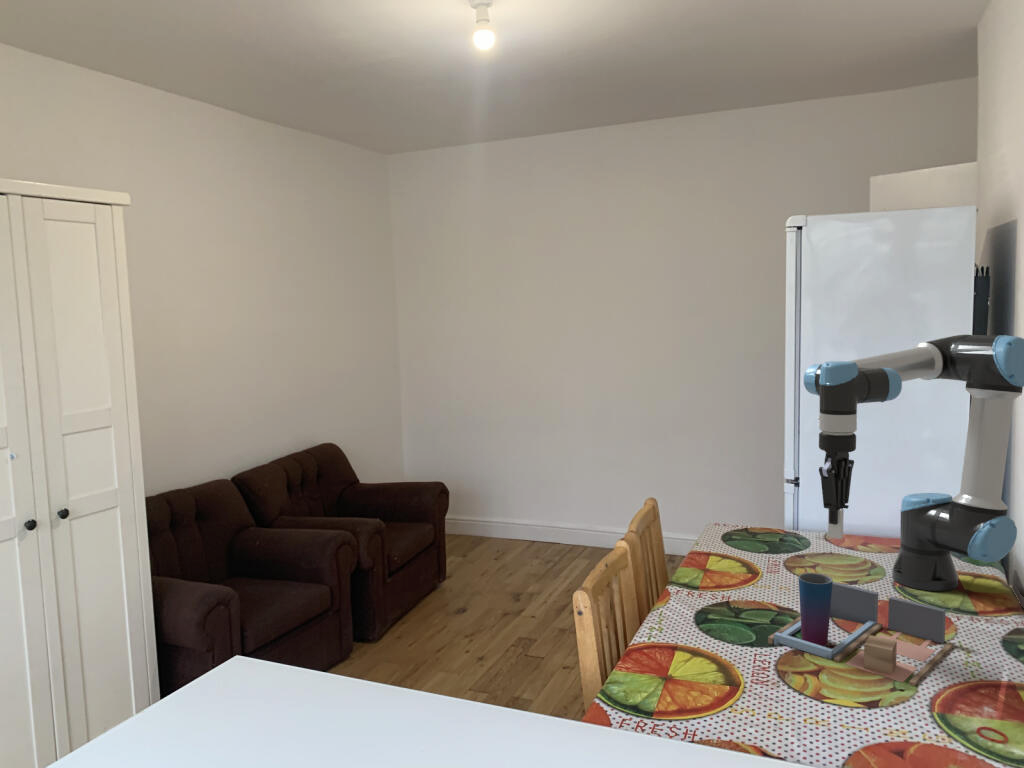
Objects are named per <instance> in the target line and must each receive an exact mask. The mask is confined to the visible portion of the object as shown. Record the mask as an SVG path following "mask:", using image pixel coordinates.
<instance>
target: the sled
mask: <svg viewBox="0 0 1024 768" xmlns="http://www.w3.org/2000/svg"><path fill="white" fill-rule="evenodd" d="M878 608H879V592H878V591H874V590H869V589H866V588H862V587H858V586H857V587H856V586H853V585H848V584H845V583H841V582H836V581H833V583H832V595H831V607H830V617H832V618H835V619H838V620H843V621H848V622H853V623H857V624H862V626H860V627H859V628H858V629H856V630H855V631H854V632H852V633H851V634H849V635H848V636H847V637H846V638H844V639H843V640H842V641H840V642H839V643H837V645H835V646H834V647H833V648H830V647H826V646H820V645H817V644H814V643H811V642H807V641H804V640H802V638H801V639H800V638H797V637H794V636H792V635H795V633H797V632H798V631H800V630H801V621H799V622H798V623H796V624H795V625H793V626H792V627H790V628H789V629H787V630H785V631H784V632H782V633H778V632H776V631H775V632H776V633H775V632H774V633H775V634H774V644H773V645H774V646H778V645H779V644H780V645H783V646H786V647H789V648H793V649H796V650H799V651H803V652H805V653H809V654H811V655H815V656H818V657H822V658H825V659H827V660H831V661H832V660H834V657H835V656H837V655H838V654H839V653H840V652H842V651H843V650H844V649H845V648H847V647H848V646H849V645H851V644H852V643H853V642H854V641H856V640H857V639H858V638H860V637H861V636H862V635H863V634H865V633H866V632H867V631H868V630H870V629H871V628H872V627H874V626H875V625H876V624H877V623H879V621H878V618H879V617H878V614H879V613H878V612H879V609H878Z"/></svg>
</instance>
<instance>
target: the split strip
mask: <svg viewBox="0 0 1024 768" xmlns="http://www.w3.org/2000/svg"><path fill="white" fill-rule="evenodd" d="M946 610H947V609H944V608H940V607H936V606H932V605H927V604H925V603H924V604H923V603H920V602H915V601H912V600H907V599H904V598H898V597H894V596H890V597H889V598H888V616H887V618H888V619H887V620H888V621H887V623H888V624H887V625H888V626H887V627H888V628H887V630H891V631H894V632H895V633H894V634H892V635H891V637H890V636H886V635H882V634H880V635H878V637H881V638H886V639H890V640H895V641H897V654H896V655H899V656H902V657H906V658H910V659H911V660H912V659H913V660H916V661H919V662H924V663H925V662H926V660H927V659H928V658H929V657H930V656H932V655H933V654H934V652H936V650H935V649H934V648H933V649H932V648H929V647H928V646H929V644H931V643H932V642H935V643H939V644H944V643H945V642H946V638H945V637H946ZM902 634H904V635H905V634H906V635H908V636H913V637H917V638H919V639H920V638H921V639H923V640H925V641H924V642H922V643H921V644H920V645H918V644H915V643H912V642H911V643H910V642H907V641H903V640H901V639H897V638H899V636H900V635H902ZM844 665H847V666H851V667H854V668H856V669H859V670H863V671H865V672H868V673H872V674H876V675H878V676H880V677H884V678H888V679H891V680H894V681H897V682H900V683H904V682H905V681H906V680H907V679H908V678H909V677H910V676H911V675H912V674H913V673H914V672H915V671H916V670H917V669H918V666H917V667H916V666H913V665H910V664H907V663H903V662H900V661H897V660H896V666H895V669H894V671H893V673H892V675H890V674H885V673H881V672H877V671H873V670H869V669H864V650H860V651H858V653H856V654H855V655H854V656H853V657H851V658H850V659H849V660H848V661H847V662H845V663H844Z"/></svg>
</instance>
